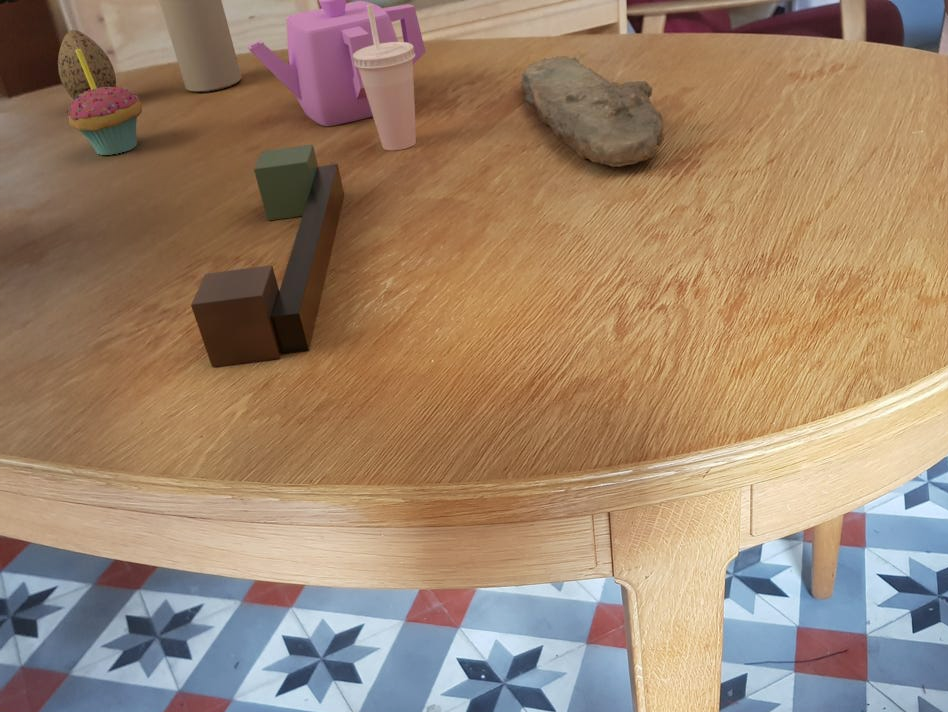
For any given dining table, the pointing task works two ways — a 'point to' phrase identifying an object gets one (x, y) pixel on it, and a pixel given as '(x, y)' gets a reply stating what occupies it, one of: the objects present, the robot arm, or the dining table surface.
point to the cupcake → (105, 115)
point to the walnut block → (238, 315)
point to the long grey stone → (594, 111)
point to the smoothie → (389, 88)
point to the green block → (285, 180)
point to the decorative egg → (73, 70)
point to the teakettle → (335, 56)
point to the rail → (308, 262)
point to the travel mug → (202, 44)
